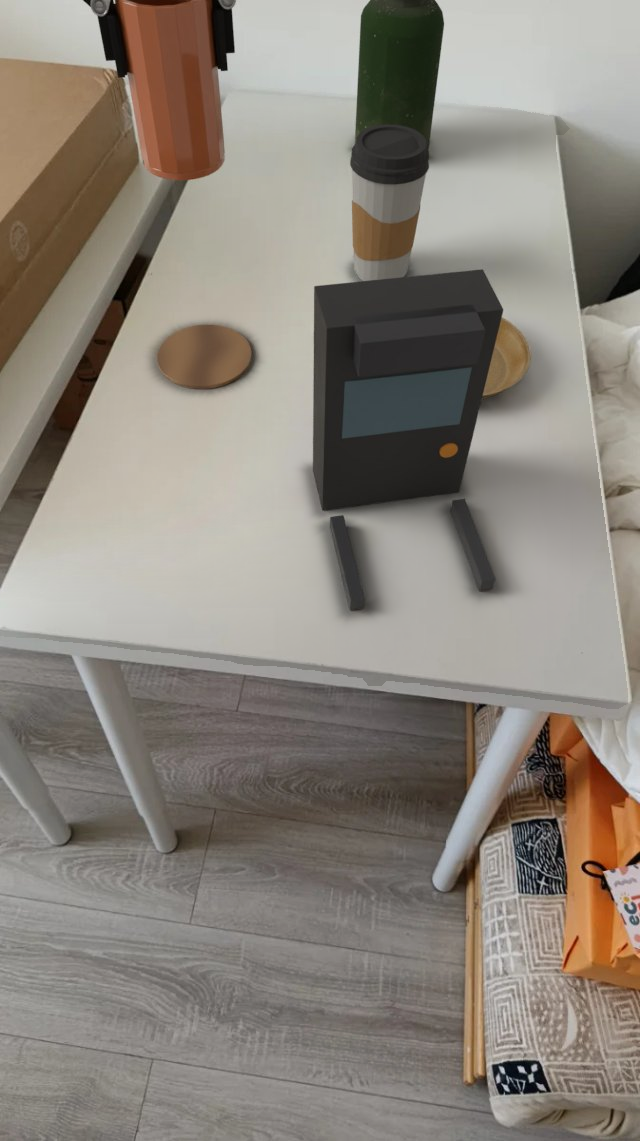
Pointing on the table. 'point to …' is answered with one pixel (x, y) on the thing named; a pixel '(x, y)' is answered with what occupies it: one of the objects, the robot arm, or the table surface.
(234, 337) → the coaster
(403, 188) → the coffee cup
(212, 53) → the orange tube
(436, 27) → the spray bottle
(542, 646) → the table surface
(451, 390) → the black box with legs
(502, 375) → the plant saucer
